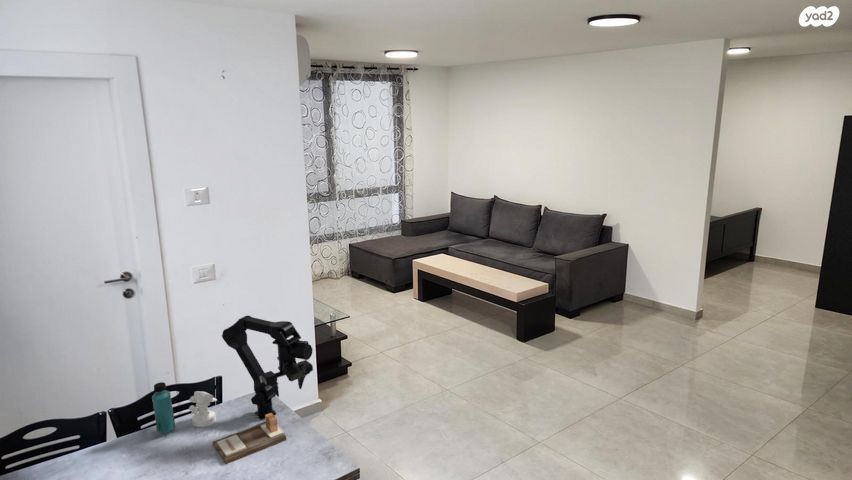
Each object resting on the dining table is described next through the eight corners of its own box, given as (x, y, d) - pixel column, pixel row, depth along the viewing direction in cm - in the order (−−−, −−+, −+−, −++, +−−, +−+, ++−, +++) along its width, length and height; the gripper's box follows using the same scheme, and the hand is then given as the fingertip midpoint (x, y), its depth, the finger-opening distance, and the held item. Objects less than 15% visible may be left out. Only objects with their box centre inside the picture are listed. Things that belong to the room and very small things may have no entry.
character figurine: (187, 422, 208) (184, 394, 206) (209, 411, 216) (206, 384, 213) (200, 429, 203) (197, 401, 201) (222, 418, 211) (219, 390, 208)
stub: (260, 426, 202) (259, 413, 200) (273, 422, 205) (271, 408, 204) (271, 438, 194) (269, 424, 193) (283, 433, 197) (282, 420, 196)
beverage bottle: (179, 427, 205) (173, 379, 200) (169, 437, 198) (162, 388, 194) (163, 426, 206) (156, 379, 201) (153, 436, 199) (146, 388, 195)
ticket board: (213, 445, 193) (212, 439, 193) (271, 423, 207) (270, 418, 206) (225, 464, 183) (225, 458, 182) (286, 440, 196) (285, 434, 195)
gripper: (271, 370, 191) (274, 409, 194) (318, 355, 202) (320, 392, 205) (259, 359, 199) (262, 397, 203) (305, 345, 210) (307, 382, 214)
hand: (289, 392), depth 206 cm, fingers open, 9 cm apart
